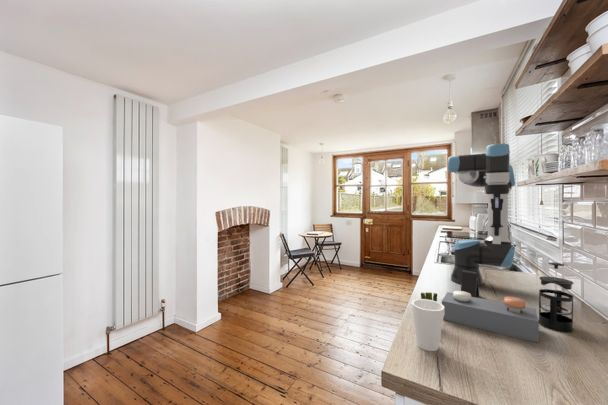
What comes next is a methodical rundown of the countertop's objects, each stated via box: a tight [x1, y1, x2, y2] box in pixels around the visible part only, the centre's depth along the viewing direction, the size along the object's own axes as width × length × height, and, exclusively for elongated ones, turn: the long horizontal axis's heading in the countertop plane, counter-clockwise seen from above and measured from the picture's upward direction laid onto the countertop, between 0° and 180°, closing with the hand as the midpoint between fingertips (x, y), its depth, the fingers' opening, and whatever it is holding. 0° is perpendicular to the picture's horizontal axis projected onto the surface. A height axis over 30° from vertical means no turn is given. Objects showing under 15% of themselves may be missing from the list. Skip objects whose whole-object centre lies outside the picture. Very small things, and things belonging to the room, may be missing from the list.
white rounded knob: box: [452, 290, 471, 302], centre depth 103 cm, size 6×6×8 cm
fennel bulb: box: [420, 292, 438, 302], centre depth 97 cm, size 6×5×12 cm
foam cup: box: [411, 298, 445, 352], centre depth 84 cm, size 10×9×13 cm
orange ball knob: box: [503, 296, 527, 313], centre depth 93 cm, size 6×6×8 cm
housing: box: [441, 291, 540, 344], centre depth 98 cm, size 12×28×7 cm, turn 52°
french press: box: [538, 261, 575, 334], centre depth 96 cm, size 12×9×23 cm
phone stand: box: [460, 270, 481, 298], centre depth 125 cm, size 9×6×12 cm, turn 134°
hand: (496, 243), depth 105 cm, fingers closed
